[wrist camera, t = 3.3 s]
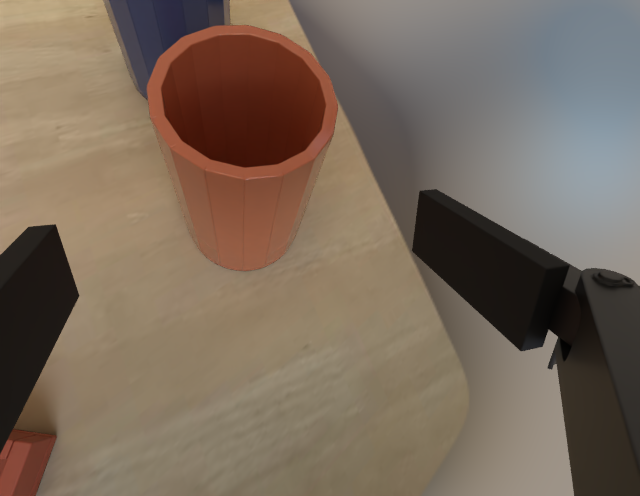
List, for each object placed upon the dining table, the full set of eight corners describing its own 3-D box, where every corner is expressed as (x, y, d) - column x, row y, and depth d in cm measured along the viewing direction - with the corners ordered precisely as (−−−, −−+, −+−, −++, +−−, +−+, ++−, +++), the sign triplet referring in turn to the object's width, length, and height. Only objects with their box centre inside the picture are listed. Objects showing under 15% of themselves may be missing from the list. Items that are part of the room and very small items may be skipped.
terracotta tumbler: (304, 187, 27) (347, 52, 16) (285, 280, 25) (322, 198, 14) (205, 163, 26) (179, 4, 15) (175, 258, 24) (119, 150, 13)
